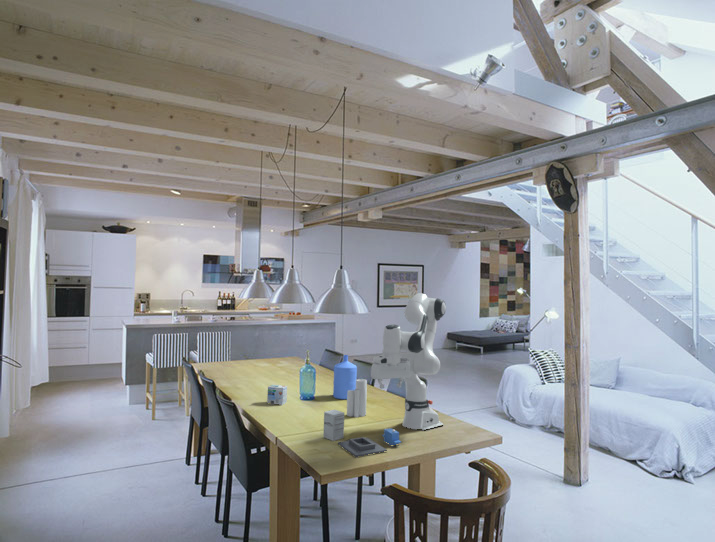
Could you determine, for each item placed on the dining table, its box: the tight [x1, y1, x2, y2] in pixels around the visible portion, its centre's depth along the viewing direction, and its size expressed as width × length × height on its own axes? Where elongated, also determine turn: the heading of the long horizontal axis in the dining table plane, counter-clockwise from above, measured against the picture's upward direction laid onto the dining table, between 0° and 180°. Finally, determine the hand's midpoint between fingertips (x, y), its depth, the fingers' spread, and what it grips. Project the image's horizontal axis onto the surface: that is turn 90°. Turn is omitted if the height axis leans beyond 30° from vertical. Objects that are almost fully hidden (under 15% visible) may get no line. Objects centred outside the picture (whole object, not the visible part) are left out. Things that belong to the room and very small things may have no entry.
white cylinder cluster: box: [346, 378, 368, 418], centre depth 260 cm, size 11×7×20 cm, turn 116°
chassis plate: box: [337, 436, 388, 458], centre depth 207 cm, size 16×18×3 cm
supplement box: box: [322, 409, 345, 442], centre depth 220 cm, size 7×7×13 cm
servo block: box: [381, 427, 402, 446], centre depth 214 cm, size 4×12×7 cm, turn 28°
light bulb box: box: [266, 384, 288, 406], centre depth 282 cm, size 11×7×11 cm, turn 76°
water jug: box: [332, 354, 358, 400], centre depth 303 cm, size 16×16×28 cm
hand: (390, 387), depth 216 cm, fingers open, 8 cm apart
